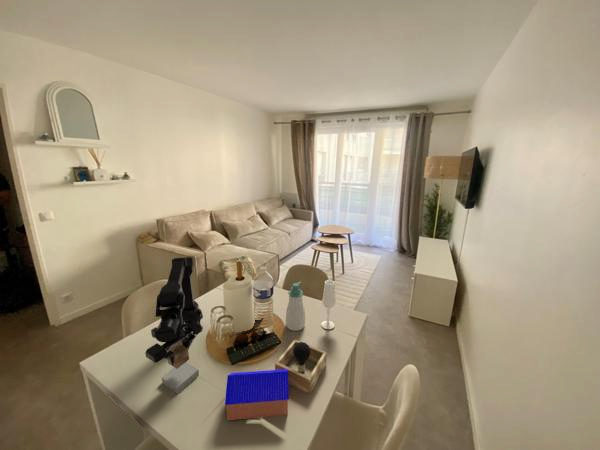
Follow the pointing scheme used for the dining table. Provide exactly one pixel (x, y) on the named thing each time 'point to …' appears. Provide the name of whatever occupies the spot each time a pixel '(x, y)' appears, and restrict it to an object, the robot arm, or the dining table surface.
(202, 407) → the dining table surface
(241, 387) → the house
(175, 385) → the grey plinth
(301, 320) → the soap bottle
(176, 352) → the walnut cube
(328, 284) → the champagne flute
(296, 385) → the oak bulb corral
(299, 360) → the light bulb
